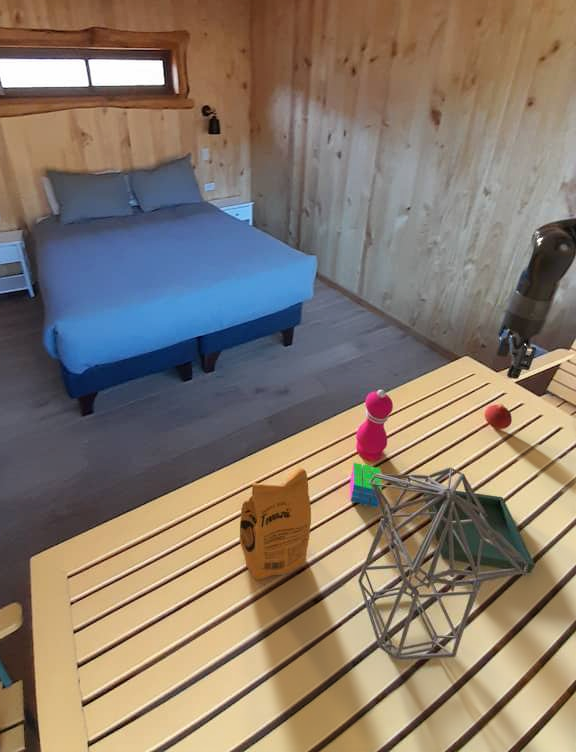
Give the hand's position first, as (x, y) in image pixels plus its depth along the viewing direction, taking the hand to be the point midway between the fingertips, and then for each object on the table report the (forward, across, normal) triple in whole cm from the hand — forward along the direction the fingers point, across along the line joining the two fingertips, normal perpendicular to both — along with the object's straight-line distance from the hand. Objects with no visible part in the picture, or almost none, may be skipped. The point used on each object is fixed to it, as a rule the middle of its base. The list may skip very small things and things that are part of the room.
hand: (506, 366), depth 98 cm
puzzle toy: (+21, -29, +31) cm, 47 cm away
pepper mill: (+21, -17, +29) cm, 40 cm away
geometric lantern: (+21, -53, +24) cm, 62 cm away
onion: (+21, 0, -3) cm, 21 cm away
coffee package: (+21, -48, +48) cm, 71 cm away
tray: (+20, -32, +9) cm, 39 cm away
